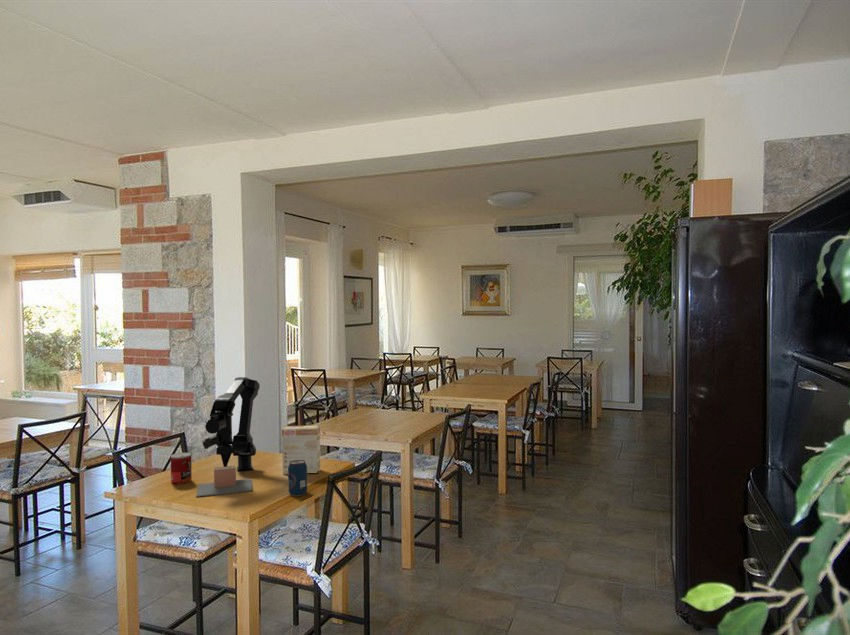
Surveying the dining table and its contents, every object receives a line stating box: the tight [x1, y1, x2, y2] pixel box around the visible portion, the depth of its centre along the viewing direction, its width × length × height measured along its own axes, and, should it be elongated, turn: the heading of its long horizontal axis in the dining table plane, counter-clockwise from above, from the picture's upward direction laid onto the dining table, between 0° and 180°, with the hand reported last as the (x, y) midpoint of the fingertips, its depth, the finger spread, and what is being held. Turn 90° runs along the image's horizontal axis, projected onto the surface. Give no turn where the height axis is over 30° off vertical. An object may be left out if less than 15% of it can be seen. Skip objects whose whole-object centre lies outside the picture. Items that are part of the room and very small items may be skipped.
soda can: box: [287, 460, 308, 497], centre depth 211 cm, size 7×7×12 cm
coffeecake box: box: [281, 425, 322, 475], centre depth 241 cm, size 15×7×20 cm, turn 89°
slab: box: [213, 465, 237, 488], centre depth 221 cm, size 3×8×7 cm, turn 109°
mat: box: [195, 478, 254, 498], centre depth 219 cm, size 16×20×1 cm
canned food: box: [170, 452, 193, 484], centre depth 230 cm, size 8×8×11 cm
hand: (225, 466), depth 229 cm, fingers closed
